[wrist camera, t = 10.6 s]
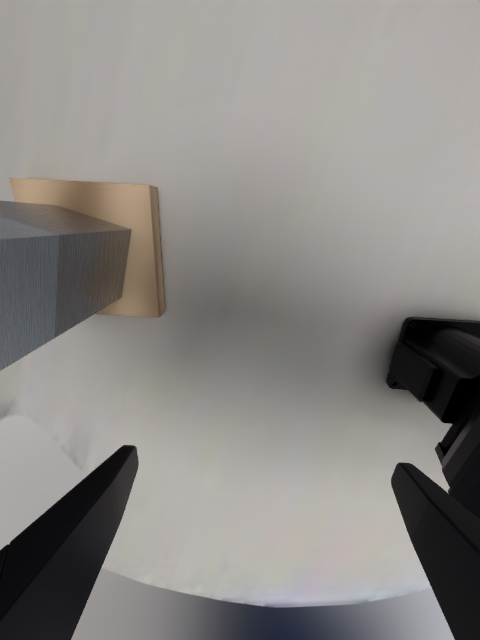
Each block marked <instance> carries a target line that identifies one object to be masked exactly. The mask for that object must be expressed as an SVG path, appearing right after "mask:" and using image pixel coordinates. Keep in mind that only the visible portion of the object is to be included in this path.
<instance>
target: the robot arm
mask: <svg viewBox="0 0 480 640" xmlns="http://www.w3.org/2000/svg"><path fill="white" fill-rule="evenodd" d="M413 322H414V324H413V325H412V326H410V325H411V323H413ZM389 370H390V371H389V374H388V377H387V380H386V384H387V385H388V386H389V387H390V388H391V389H403V390H409V391H410V392H411V393H412V395H413V396H414V397H415V398H416V399H417V400H418V401H420V402H423V403H424V404H425V405H426V406H427V407H428V408H429V409H430V410H431V411H432V412H433V413H434V414H435V415H436V416H437V417H438V418H439V419H440V420H441V421H442V422H443V423H451V424H452V426H451V428H450V429H449V431H448V432H447V434H446V435H445V437H444V438H443V440H442V442H439V443H438V444H437V446H436V448H435V451H436V453H437V455H438V458H439V460H440V463H441V465H442V472H443V474H444V476H445V478H446V481H447V483H448V485H449V487H450V488H449V490H448V493H449V494H448V493H447V492H446V491H445V490H443V489H442V488H441V487H440V486H438V485H437V484H436V483H435V482H434V481H432V480H431V479H430V478H429V477H427V476H426V475H425V474H424V473H423V472H421V471H420V470H419V469H418V468H416V467H415V466H414V465H412V464H410V463H398V464H397V465H396V468H395V470H394V473H393V476H392V478H391V484H392V488H393V491H394V494H395V497H396V500H397V503H398V505H399V508H400V511H401V514H402V517H403V520H404V523H405V526H406V528H407V531H408V534H409V537H410V539H411V542H412V544H413V546H414V549H415V551H416V553H417V555H418V558H419V560H420V562H421V564H422V567H423V569H424V571H425V573H426V576H427V578H428V580H429V582H430V585H431V587H432V589H433V591H434V594H435V596H436V598H437V600H438V603H439V605H440V607H441V609H442V612H443V614H444V616H445V618H446V621H447V623H448V625H449V627H450V630H451V632H452V634H453V636H454V639H455V640H480V321H467V320H449V319H432V318H415V317H411V318H408V319H407V320H406V321H405V322H404V325H403V328H402V332H401V335H400V338H399V341H398V343H397V345H396V348H395V351H394V355H393V358H392V361H391V364H390V368H389ZM392 382H394V383H393V384H392ZM137 470H138V455H137V448H136V446H134V445H124V446H122V447H121V448H119V449H118V450H117V451H116V452H115V453H114V454H112V455H111V456H110V457H109V458H108V459H107V460H105V461H104V462H103V463H102V464H101V465H100V466H98V467H97V468H96V469H95V470H94V471H93V472H91V473H90V474H89V475H88V476H87V477H86V478H84V479H83V480H82V481H81V482H80V483H79V484H77V485H76V486H75V487H74V488H73V489H72V490H70V491H69V492H68V493H67V494H66V495H65V496H63V497H62V498H61V499H60V500H59V501H58V502H56V503H55V504H54V505H53V506H52V507H51V508H49V509H48V510H47V511H46V512H45V513H44V514H42V515H41V516H40V517H39V518H38V519H37V520H35V521H34V522H33V523H32V524H31V525H29V526H28V527H27V528H26V529H25V530H24V531H23V532H21V533H20V534H19V535H18V536H17V537H16V538H14V539H13V540H12V541H11V542H10V545H6V546H5V547H4V548H3V549H1V550H0V640H71V638H72V636H73V633H74V631H75V629H76V626H77V624H78V622H79V619H80V617H81V615H82V612H83V610H84V607H85V605H86V603H87V600H88V598H89V596H90V593H91V591H92V589H93V586H94V584H95V581H96V579H97V577H98V574H99V572H100V569H101V567H102V565H103V563H104V560H105V558H106V555H107V553H108V551H109V548H110V546H111V544H112V541H113V539H114V537H115V534H116V532H117V529H118V527H119V524H120V522H121V519H122V516H123V514H124V511H125V507H126V504H127V501H128V498H129V495H130V492H131V489H132V485H133V482H134V479H135V476H136V473H137Z"/></svg>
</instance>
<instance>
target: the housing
mask: <svg viewBox="0 0 480 640" xmlns="http://www.w3.org/2000/svg"><path fill="white" fill-rule="evenodd" d="M131 230H132V229H129V228H126V227H123V226H119V225H116V224H113V223H110V222H107V221H104V220H101V219H98V218H95V217H92V216H88V215H85V214H82V213H79V212H76V211H73V210H70V209H67V208H64V207H61V206H57V205H48V204H35V203H22V202H9V201H0V371H1V370H3V369H4V368H6V367H8V366H9V365H11V364H12V363H14V362H16V361H17V360H19V359H21V358H22V357H24V356H26V355H27V354H29V353H31V352H32V351H34V350H36V349H37V348H39V347H41V346H42V345H44V344H46V343H47V342H49V341H51V340H52V339H54V338H56V337H57V336H59V335H60V334H62V333H64V332H65V331H67V330H69V329H70V328H72V327H74V326H75V325H77V324H79V323H80V322H82V321H84V320H85V319H87V318H89V317H90V316H92V315H94V314H95V313H97V312H99V311H100V310H102V309H104V308H105V307H107V306H108V305H110V304H112V303H113V302H115V301H117V300H118V299H120V298H122V293H123V286H124V279H125V272H126V265H127V258H128V251H129V244H130V237H131Z"/></svg>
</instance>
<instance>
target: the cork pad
mask: <svg viewBox="0 0 480 640" xmlns="http://www.w3.org/2000/svg"><path fill="white" fill-rule="evenodd" d="M9 179H10V183H11V187H12V191H13V195H14V199H15V202H22V203H35V204H48V205H57V206H61V207H64V208H67V209H70V210H73V211H76V212H79V213H82V214H85V215H88V216H92V217H95V218H98V219H101V220H104V221H107V222H110V223H113V224H116V225H119V226H123V227H126V228H129V229H132V230H131V237H130V244H129V251H128V258H127V265H126V272H125V279H124V286H123V293H122V298H120V299H118V300H117V301H115V302H113V303H112V304H110V305H108V306H107V307H105V308H104V309H102V310H100V311H99V312H97V313H95V314H106V315H123V316H140V317H157V318H159V317H160V316H161V315H162V314H163V313H164V312H165V304H164V288H163V272H162V256H161V240H160V224H159V209H158V193H157V188H156V187H153V186H150V185H139V184H119V183H99V182H80V181H60V180H41V179H21V178H9Z"/></svg>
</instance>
